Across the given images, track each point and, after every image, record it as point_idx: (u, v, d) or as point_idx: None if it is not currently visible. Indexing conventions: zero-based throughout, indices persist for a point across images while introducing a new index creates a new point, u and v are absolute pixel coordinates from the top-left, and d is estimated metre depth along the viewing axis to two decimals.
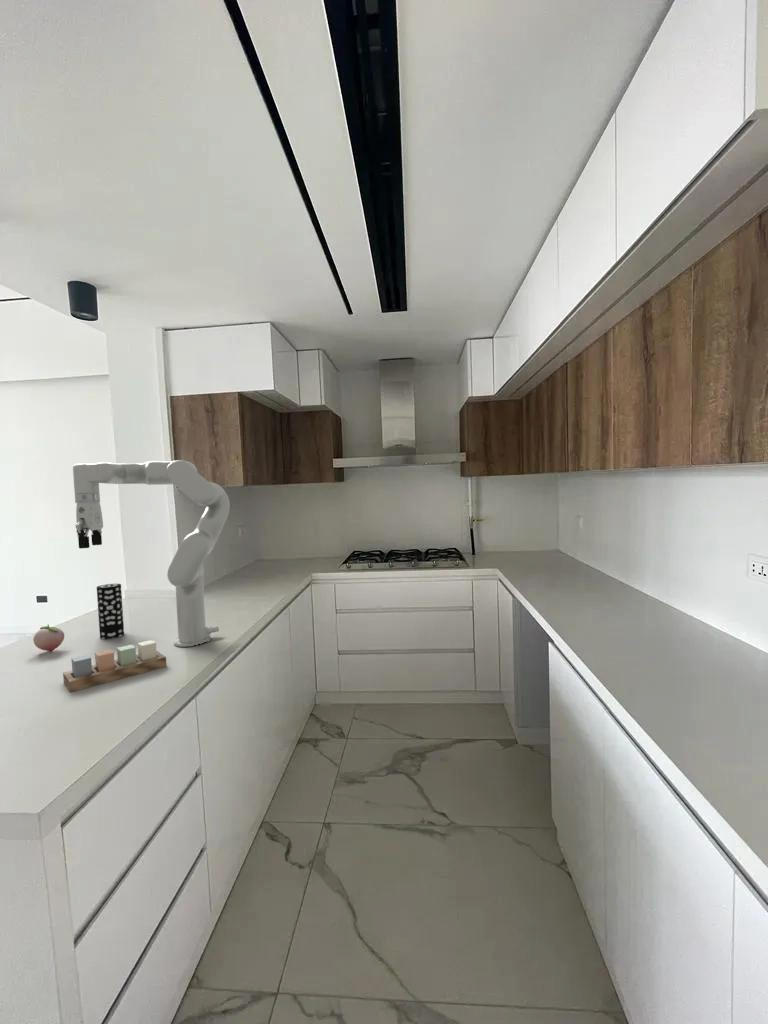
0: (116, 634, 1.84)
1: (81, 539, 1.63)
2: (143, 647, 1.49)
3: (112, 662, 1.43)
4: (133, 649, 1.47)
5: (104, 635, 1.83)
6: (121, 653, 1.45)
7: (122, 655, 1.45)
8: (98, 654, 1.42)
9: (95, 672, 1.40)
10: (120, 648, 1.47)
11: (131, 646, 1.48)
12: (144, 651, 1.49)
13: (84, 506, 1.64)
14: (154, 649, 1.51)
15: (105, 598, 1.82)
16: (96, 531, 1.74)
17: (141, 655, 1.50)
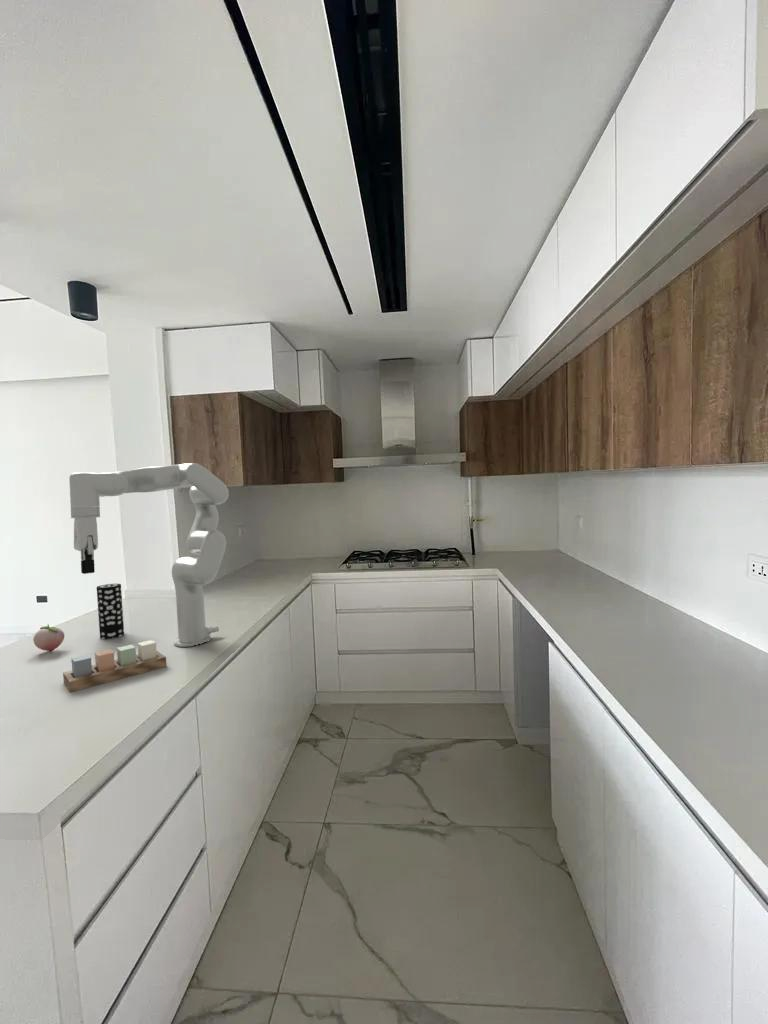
0: (116, 634, 1.84)
1: None
2: (143, 647, 1.49)
3: (112, 662, 1.43)
4: (133, 649, 1.47)
5: (104, 635, 1.83)
6: (121, 653, 1.45)
7: (122, 655, 1.45)
8: (98, 654, 1.42)
9: (95, 672, 1.40)
10: (120, 648, 1.47)
11: (131, 646, 1.48)
12: (144, 651, 1.49)
13: None
14: (154, 649, 1.51)
15: (105, 598, 1.82)
16: None
17: (141, 655, 1.50)
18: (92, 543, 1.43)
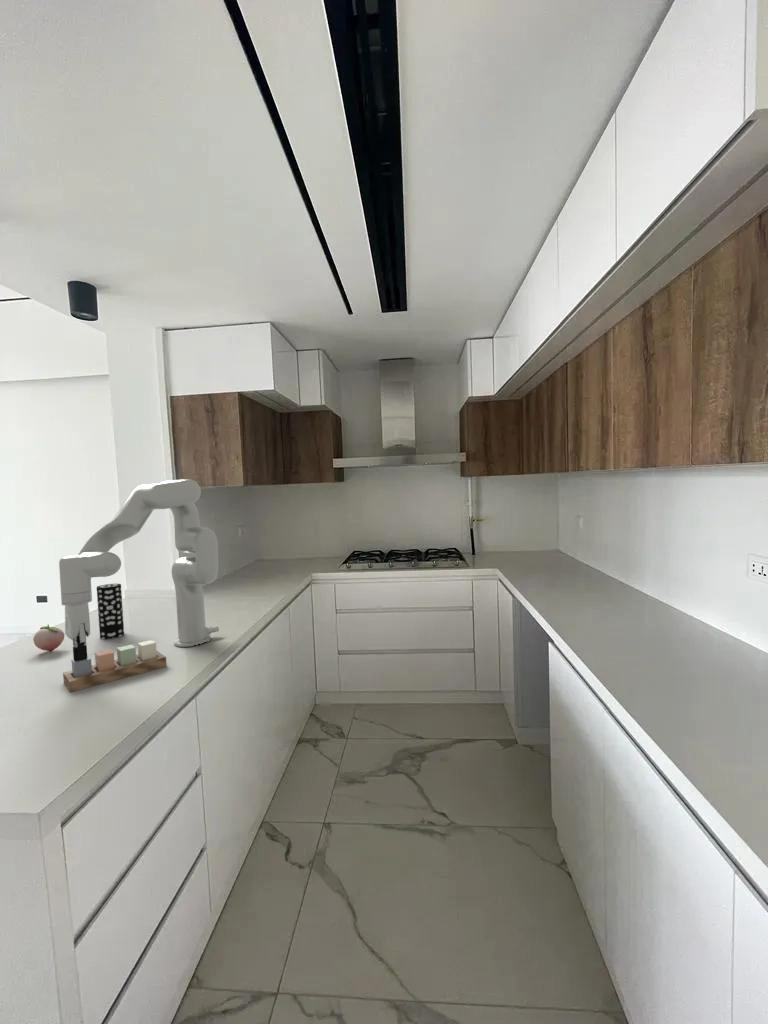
0: (116, 634, 1.84)
1: None
2: (143, 647, 1.49)
3: (112, 662, 1.43)
4: (133, 649, 1.47)
5: (104, 635, 1.83)
6: (121, 653, 1.45)
7: (122, 655, 1.45)
8: (98, 654, 1.42)
9: (95, 672, 1.40)
10: (120, 648, 1.47)
11: (131, 646, 1.48)
12: (144, 651, 1.49)
13: None
14: (154, 649, 1.51)
15: (105, 598, 1.82)
16: None
17: (141, 655, 1.50)
18: (84, 630, 1.37)
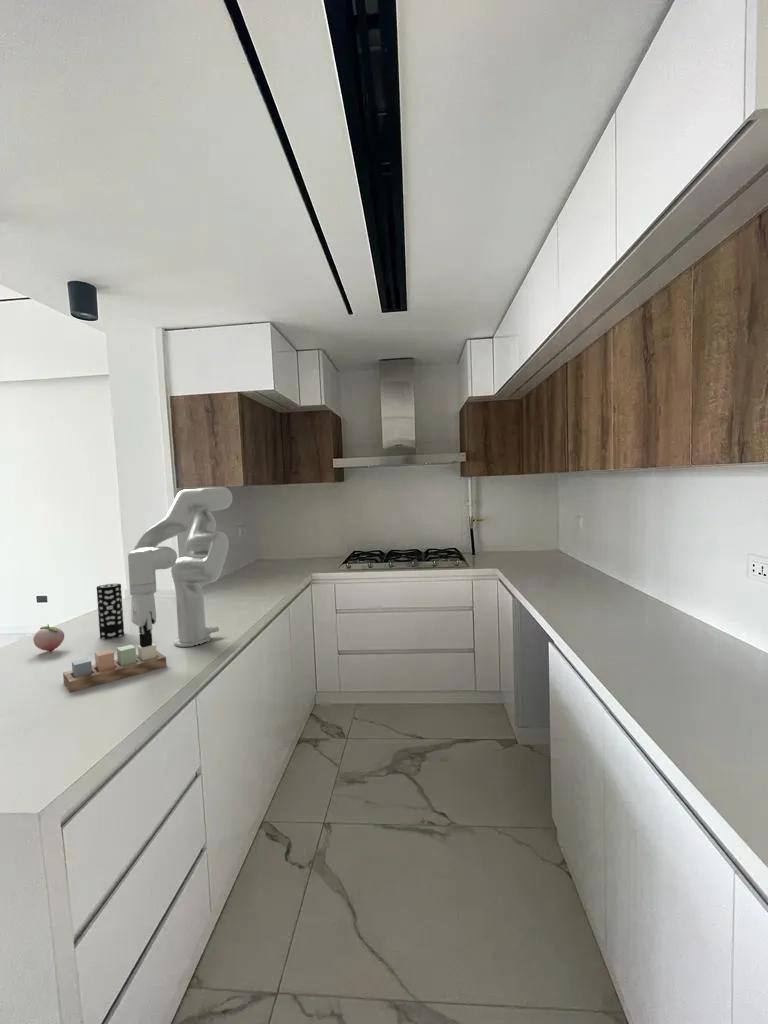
0: (116, 634, 1.84)
1: None
2: (143, 650, 1.49)
3: (112, 662, 1.43)
4: (133, 649, 1.47)
5: (104, 635, 1.83)
6: (121, 653, 1.45)
7: (122, 655, 1.45)
8: (98, 654, 1.42)
9: (95, 672, 1.40)
10: (120, 648, 1.47)
11: (131, 646, 1.48)
12: (144, 654, 1.49)
13: None
14: (154, 651, 1.51)
15: (105, 598, 1.82)
16: None
17: (141, 658, 1.50)
18: (150, 618, 1.49)
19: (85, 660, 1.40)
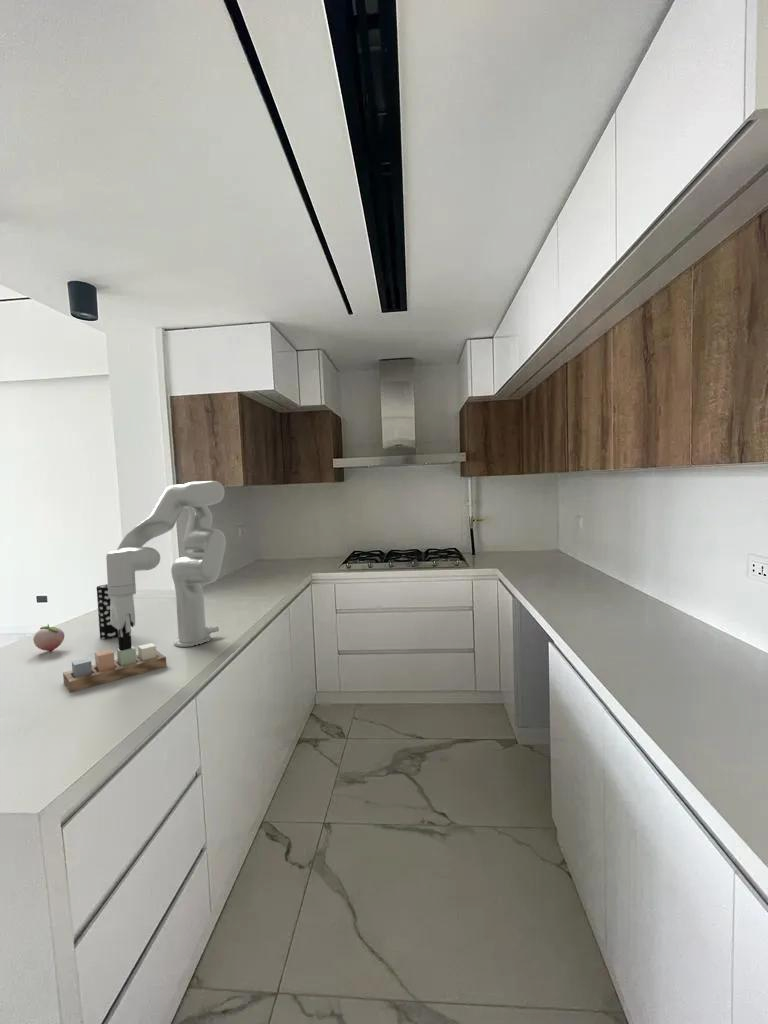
0: (116, 634, 1.84)
1: None
2: (143, 650, 1.49)
3: (112, 662, 1.43)
4: (133, 650, 1.47)
5: (104, 635, 1.83)
6: (121, 654, 1.45)
7: (122, 655, 1.45)
8: (98, 654, 1.42)
9: (95, 672, 1.40)
10: None
11: (131, 647, 1.48)
12: (144, 654, 1.49)
13: None
14: (154, 652, 1.51)
15: (105, 598, 1.82)
16: None
17: (141, 658, 1.50)
18: (129, 620, 1.45)
19: (85, 660, 1.40)
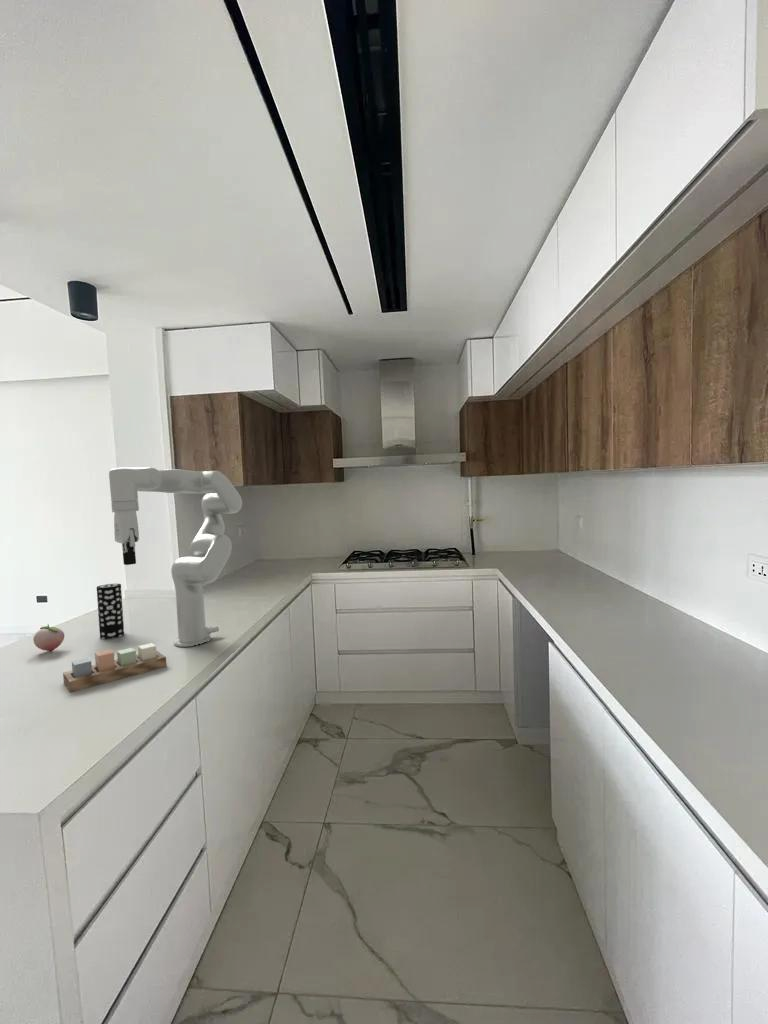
0: (116, 634, 1.84)
1: None
2: (143, 650, 1.49)
3: (112, 662, 1.43)
4: (133, 652, 1.47)
5: (104, 635, 1.83)
6: (121, 656, 1.45)
7: (122, 658, 1.45)
8: (98, 654, 1.42)
9: (95, 672, 1.40)
10: (120, 651, 1.47)
11: (131, 650, 1.48)
12: (144, 654, 1.49)
13: None
14: (154, 652, 1.51)
15: (105, 598, 1.82)
16: None
17: (141, 658, 1.50)
18: (133, 536, 1.49)
19: (85, 660, 1.40)
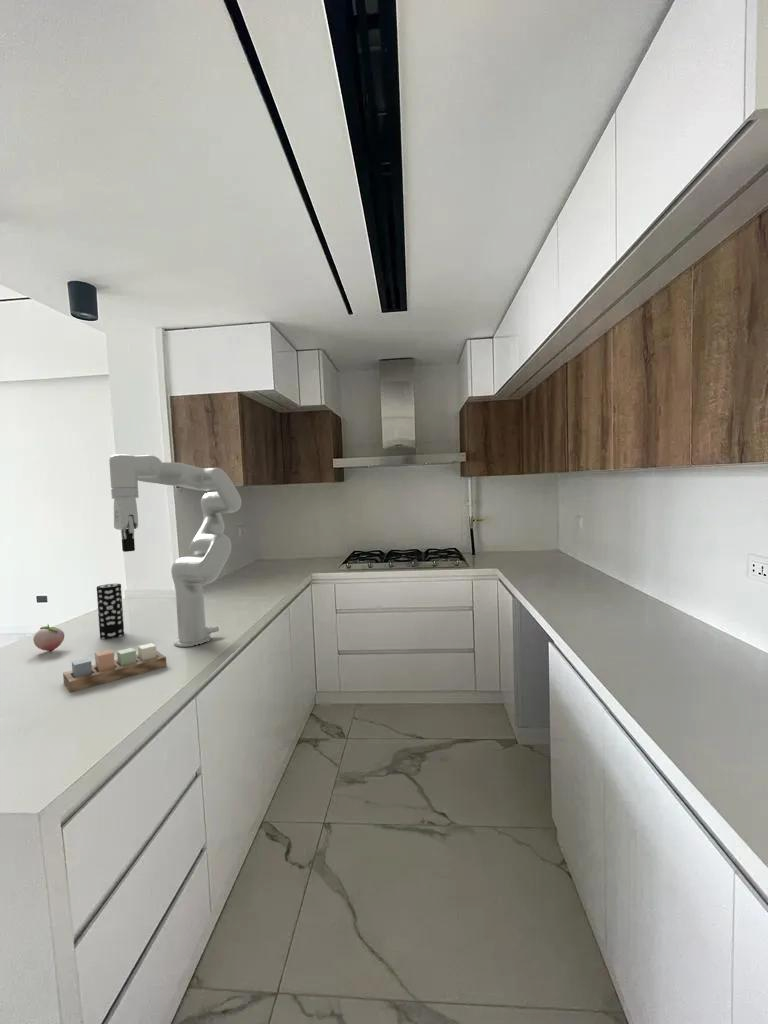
0: (116, 634, 1.84)
1: None
2: (143, 650, 1.49)
3: (112, 662, 1.43)
4: (133, 652, 1.47)
5: (104, 635, 1.83)
6: (121, 656, 1.45)
7: (122, 658, 1.45)
8: (98, 654, 1.42)
9: (95, 672, 1.40)
10: (120, 651, 1.47)
11: (131, 650, 1.48)
12: (144, 654, 1.49)
13: None
14: (154, 652, 1.51)
15: (105, 598, 1.82)
16: None
17: (141, 658, 1.50)
18: (132, 522, 1.49)
19: (85, 660, 1.40)
